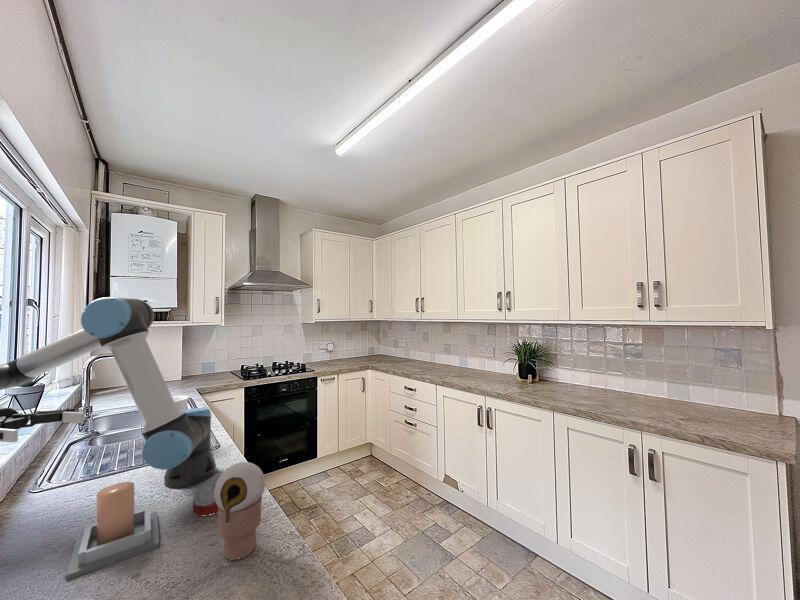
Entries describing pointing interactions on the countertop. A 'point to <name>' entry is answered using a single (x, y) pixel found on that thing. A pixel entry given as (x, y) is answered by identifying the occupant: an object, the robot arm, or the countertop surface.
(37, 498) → the countertop surface
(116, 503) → the peach round cylinder
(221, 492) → the ice cream cone
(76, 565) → the grey rectangular tray
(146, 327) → the robot arm
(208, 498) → the canned food
